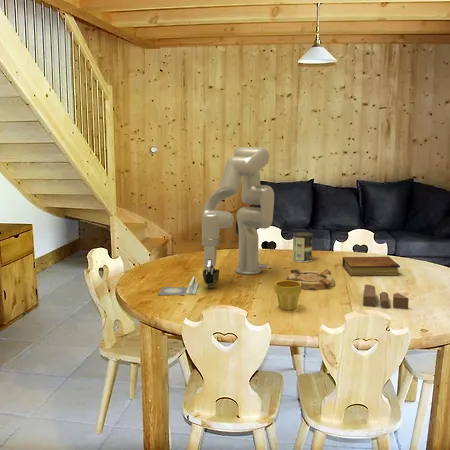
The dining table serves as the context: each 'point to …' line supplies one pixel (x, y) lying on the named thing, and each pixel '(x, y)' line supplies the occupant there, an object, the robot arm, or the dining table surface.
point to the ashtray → (313, 279)
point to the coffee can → (302, 247)
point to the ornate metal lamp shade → (215, 278)
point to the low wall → (192, 287)
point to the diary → (370, 266)
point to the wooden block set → (383, 299)
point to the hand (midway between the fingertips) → (210, 280)
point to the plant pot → (288, 294)
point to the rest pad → (173, 291)
